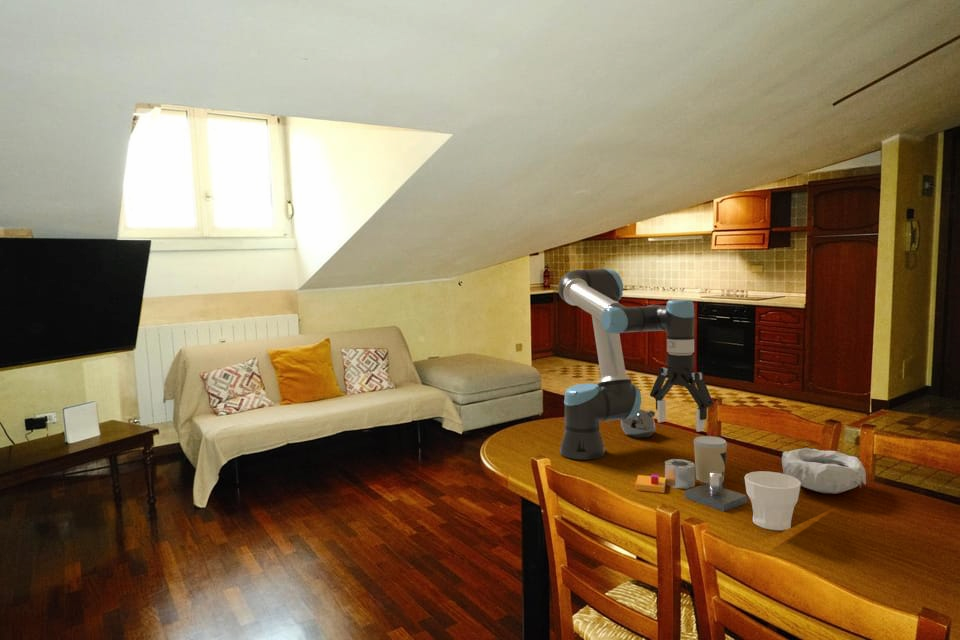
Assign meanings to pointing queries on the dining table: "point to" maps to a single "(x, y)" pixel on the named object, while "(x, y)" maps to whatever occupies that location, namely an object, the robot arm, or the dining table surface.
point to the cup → (772, 498)
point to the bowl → (824, 470)
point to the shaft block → (716, 494)
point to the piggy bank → (639, 424)
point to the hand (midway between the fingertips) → (680, 426)
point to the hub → (680, 473)
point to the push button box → (650, 483)
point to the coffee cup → (709, 457)
